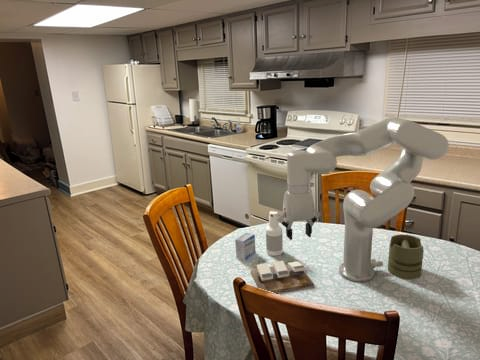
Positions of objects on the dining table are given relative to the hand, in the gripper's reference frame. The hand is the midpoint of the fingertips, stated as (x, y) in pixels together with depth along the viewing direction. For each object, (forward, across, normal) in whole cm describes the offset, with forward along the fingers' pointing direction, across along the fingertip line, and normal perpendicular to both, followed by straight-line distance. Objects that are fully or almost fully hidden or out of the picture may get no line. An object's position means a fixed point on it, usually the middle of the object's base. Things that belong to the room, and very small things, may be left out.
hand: (299, 236), depth 127 cm
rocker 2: (+13, 0, -3) cm, 14 cm away
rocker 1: (+13, +12, -3) cm, 18 cm away
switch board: (+18, +6, -3) cm, 19 cm away
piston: (+18, -39, +5) cm, 43 cm away
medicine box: (+18, +14, -24) cm, 33 cm away
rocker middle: (+13, +6, -3) cm, 15 cm away
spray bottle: (+18, +2, -23) cm, 29 cm away
